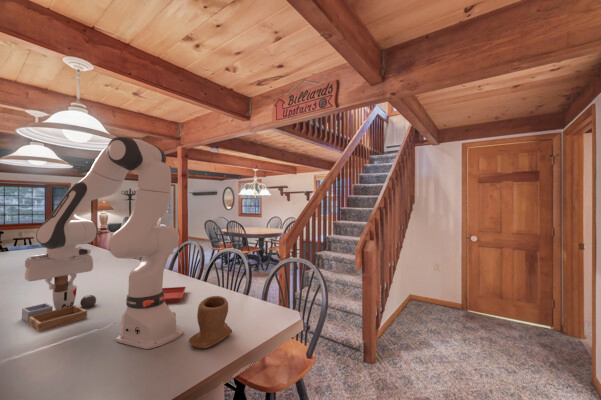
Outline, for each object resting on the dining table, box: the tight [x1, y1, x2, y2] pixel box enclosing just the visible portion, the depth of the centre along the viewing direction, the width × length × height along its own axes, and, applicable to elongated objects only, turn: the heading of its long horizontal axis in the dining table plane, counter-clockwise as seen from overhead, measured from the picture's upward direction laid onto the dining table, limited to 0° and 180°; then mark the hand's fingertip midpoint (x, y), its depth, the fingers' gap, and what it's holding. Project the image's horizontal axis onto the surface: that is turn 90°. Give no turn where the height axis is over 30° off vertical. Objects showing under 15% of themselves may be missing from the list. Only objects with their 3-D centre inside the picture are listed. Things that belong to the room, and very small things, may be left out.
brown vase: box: [188, 295, 233, 349], centre depth 93 cm, size 15×12×15 cm
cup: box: [51, 284, 78, 310], centre depth 117 cm, size 8×8×10 cm
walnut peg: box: [53, 275, 69, 292], centre depth 105 cm, size 4×4×6 cm
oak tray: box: [27, 304, 88, 332], centre depth 105 cm, size 11×14×4 cm
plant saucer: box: [162, 286, 187, 304], centre depth 134 cm, size 18×18×3 cm
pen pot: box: [21, 302, 54, 324], centre depth 107 cm, size 7×7×5 cm
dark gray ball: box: [79, 294, 97, 309], centre depth 120 cm, size 6×6×6 cm
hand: (61, 287), depth 105 cm, fingers closed on walnut peg, 4 cm apart
